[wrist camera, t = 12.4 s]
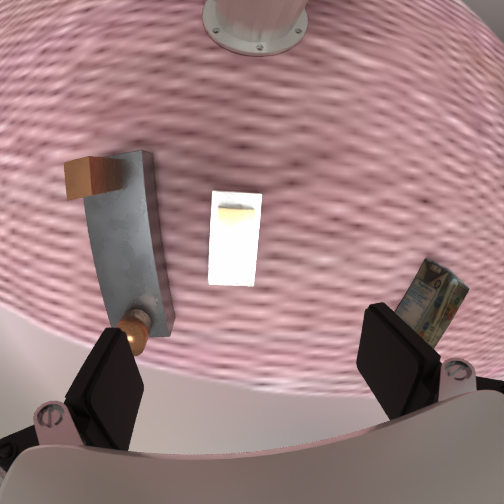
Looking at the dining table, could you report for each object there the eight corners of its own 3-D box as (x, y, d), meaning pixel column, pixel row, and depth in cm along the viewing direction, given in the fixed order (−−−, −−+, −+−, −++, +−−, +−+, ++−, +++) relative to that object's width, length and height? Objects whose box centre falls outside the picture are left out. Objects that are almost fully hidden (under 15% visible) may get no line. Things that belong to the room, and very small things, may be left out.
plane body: (97, 163, 27) (42, 162, 16) (152, 153, 28) (115, 143, 17) (125, 319, 33) (95, 374, 22) (175, 317, 34) (159, 376, 23)
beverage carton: (449, 275, 37) (474, 290, 31) (388, 369, 41) (406, 392, 35) (424, 255, 35) (452, 270, 29) (358, 360, 39) (375, 386, 33)
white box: (213, 189, 30) (211, 192, 26) (258, 192, 31) (264, 195, 27) (209, 274, 33) (207, 290, 29) (251, 276, 33) (255, 291, 29)
